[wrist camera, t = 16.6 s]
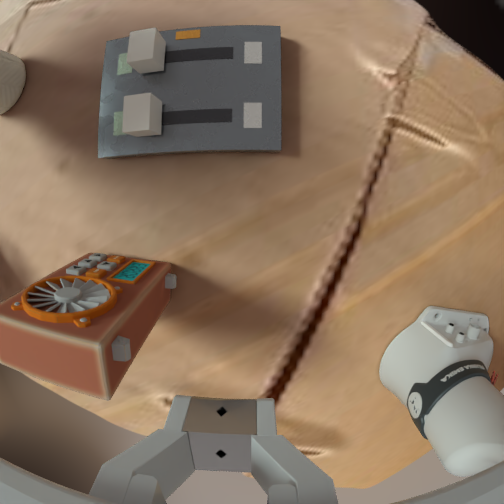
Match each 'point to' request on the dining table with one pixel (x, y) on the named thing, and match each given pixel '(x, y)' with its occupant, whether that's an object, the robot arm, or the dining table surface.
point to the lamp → (10, 80)
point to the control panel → (85, 321)
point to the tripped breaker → (146, 50)
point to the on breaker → (142, 115)
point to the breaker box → (199, 93)
